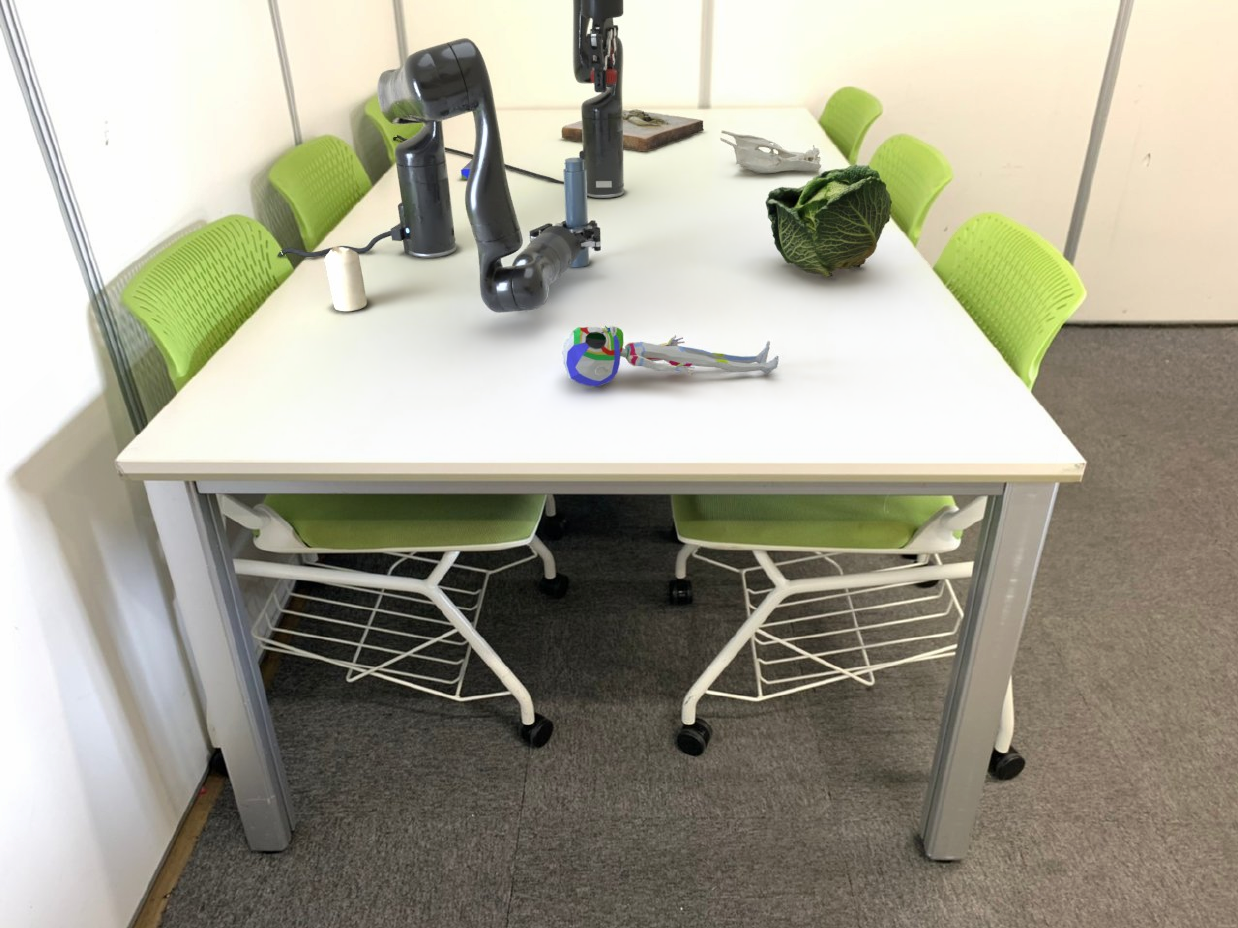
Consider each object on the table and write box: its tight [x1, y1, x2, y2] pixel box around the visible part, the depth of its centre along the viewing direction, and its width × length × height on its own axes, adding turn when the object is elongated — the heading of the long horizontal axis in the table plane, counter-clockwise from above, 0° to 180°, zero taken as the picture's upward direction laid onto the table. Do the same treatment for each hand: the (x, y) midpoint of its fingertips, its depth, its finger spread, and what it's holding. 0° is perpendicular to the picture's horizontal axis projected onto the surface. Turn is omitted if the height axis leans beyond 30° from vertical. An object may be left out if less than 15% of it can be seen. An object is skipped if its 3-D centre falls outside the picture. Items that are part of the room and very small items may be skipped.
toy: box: [561, 325, 780, 387], centre depth 127 cm, size 10×8×30 cm
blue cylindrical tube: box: [563, 157, 590, 268], centre depth 164 cm, size 4×4×19 cm
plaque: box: [561, 108, 705, 152], centre depth 257 cm, size 30×7×30 cm
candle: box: [324, 246, 368, 312], centre depth 150 cm, size 6×6×10 cm
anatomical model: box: [720, 130, 822, 174], centre depth 222 cm, size 15×9×25 cm
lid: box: [591, 69, 617, 84], centre depth 167 cm, size 5×5×2 cm
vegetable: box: [765, 164, 893, 278], centre depth 160 cm, size 20×19×20 cm
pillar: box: [460, 158, 473, 180], centre depth 228 cm, size 2×2×20 cm
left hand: (581, 224), depth 168 cm, fingers closed on blue cylindrical tube, 4 cm apart
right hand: (604, 89), depth 168 cm, fingers closed on lid, 4 cm apart
